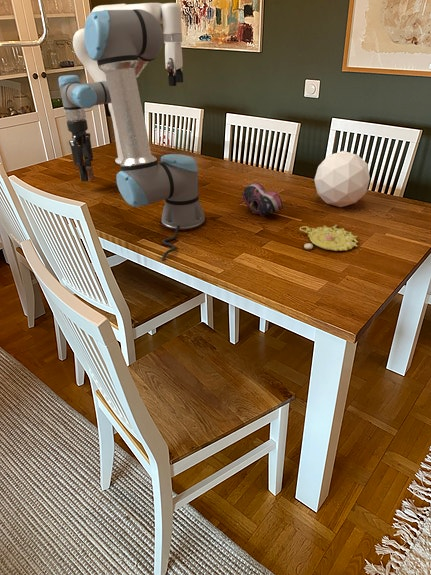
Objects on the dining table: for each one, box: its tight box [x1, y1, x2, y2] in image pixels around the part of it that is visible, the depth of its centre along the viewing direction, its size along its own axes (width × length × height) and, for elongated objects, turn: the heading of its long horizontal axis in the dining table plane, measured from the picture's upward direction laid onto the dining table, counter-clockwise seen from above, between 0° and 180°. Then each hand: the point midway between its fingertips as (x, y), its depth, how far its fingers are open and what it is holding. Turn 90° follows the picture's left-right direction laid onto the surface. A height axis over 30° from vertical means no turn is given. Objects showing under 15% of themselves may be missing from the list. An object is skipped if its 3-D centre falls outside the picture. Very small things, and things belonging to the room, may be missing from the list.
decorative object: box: [299, 224, 359, 252], centre depth 141 cm, size 21×2×20 cm
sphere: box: [313, 150, 371, 208], centre depth 161 cm, size 19×20×20 cm
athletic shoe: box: [238, 182, 284, 217], centre depth 160 cm, size 11×22×12 cm
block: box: [78, 166, 95, 182], centre depth 181 cm, size 4×4×5 cm
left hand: (176, 84), depth 190 cm, fingers open, 9 cm apart
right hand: (87, 178), depth 183 cm, fingers closed on block, 4 cm apart
